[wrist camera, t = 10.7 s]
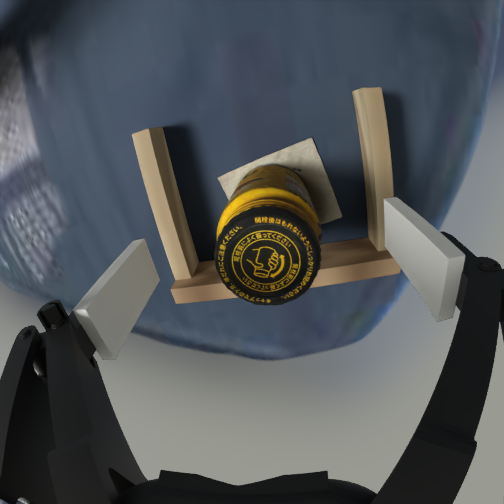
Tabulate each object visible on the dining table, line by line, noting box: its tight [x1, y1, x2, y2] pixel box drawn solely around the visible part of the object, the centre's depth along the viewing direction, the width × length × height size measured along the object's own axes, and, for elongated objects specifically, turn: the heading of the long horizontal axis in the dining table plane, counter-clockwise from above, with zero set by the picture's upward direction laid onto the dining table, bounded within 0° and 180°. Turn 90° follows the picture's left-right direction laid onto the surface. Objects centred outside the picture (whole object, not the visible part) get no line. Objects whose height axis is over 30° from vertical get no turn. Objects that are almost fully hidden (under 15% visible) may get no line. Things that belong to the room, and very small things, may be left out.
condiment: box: [214, 138, 342, 305], centre depth 19 cm, size 7×8×12 cm
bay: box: [132, 87, 400, 304], centre depth 22 cm, size 19×14×4 cm
